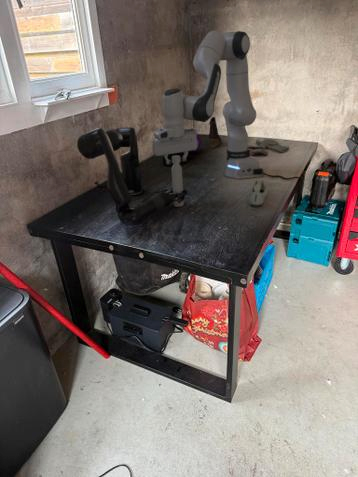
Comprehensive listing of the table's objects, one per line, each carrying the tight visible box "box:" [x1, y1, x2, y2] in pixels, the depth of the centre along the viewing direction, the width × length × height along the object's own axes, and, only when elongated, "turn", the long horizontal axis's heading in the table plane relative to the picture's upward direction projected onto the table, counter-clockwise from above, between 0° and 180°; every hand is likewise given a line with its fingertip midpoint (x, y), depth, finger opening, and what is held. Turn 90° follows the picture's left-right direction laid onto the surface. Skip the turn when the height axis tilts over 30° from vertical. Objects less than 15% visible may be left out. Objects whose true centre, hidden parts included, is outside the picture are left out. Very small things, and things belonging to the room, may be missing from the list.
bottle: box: [170, 163, 185, 208], centre depth 152 cm, size 5×5×23 cm
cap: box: [172, 155, 182, 164], centre depth 147 cm, size 4×4×2 cm
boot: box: [208, 116, 222, 149], centre depth 245 cm, size 9×24×20 cm, turn 168°
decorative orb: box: [188, 133, 202, 154], centre depth 230 cm, size 15×15×15 cm
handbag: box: [162, 152, 190, 167], centre depth 211 cm, size 21×9×25 cm, turn 148°
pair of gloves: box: [247, 138, 290, 156], centre depth 228 cm, size 30×26×5 cm
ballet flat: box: [249, 179, 269, 207], centre depth 158 cm, size 8×24×8 cm, turn 163°
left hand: (181, 190), depth 156 cm, fingers closed on bottle, 5 cm apart
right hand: (176, 162), depth 148 cm, fingers open, 6 cm apart
